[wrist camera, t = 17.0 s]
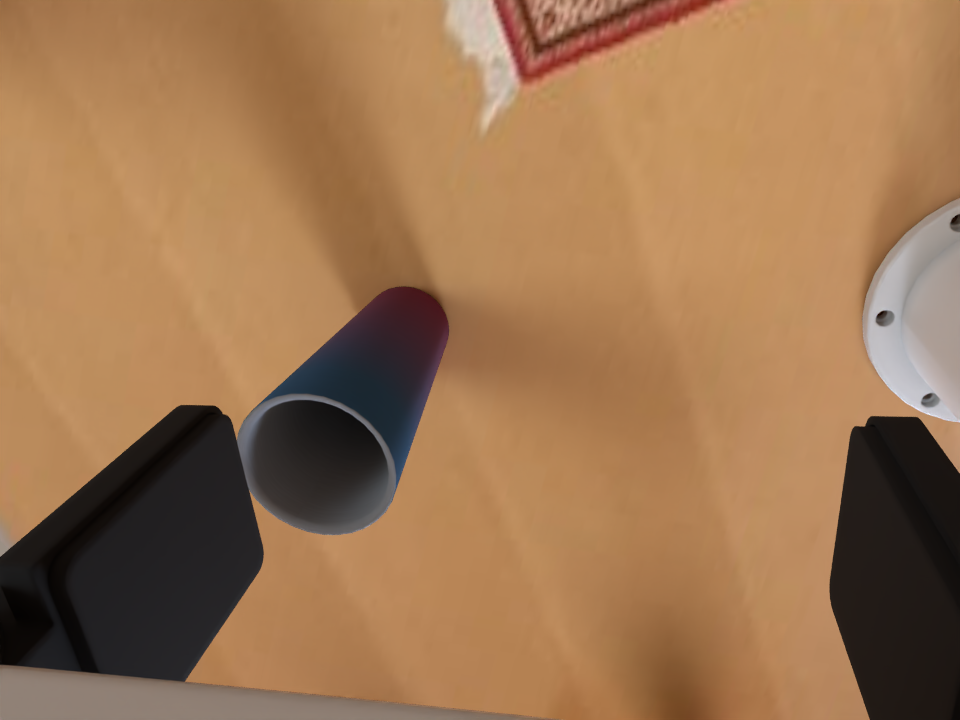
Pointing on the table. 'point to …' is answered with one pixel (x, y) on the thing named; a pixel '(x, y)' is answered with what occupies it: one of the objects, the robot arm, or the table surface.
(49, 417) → the table surface
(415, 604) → the table surface
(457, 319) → the table surface
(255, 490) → the cup
